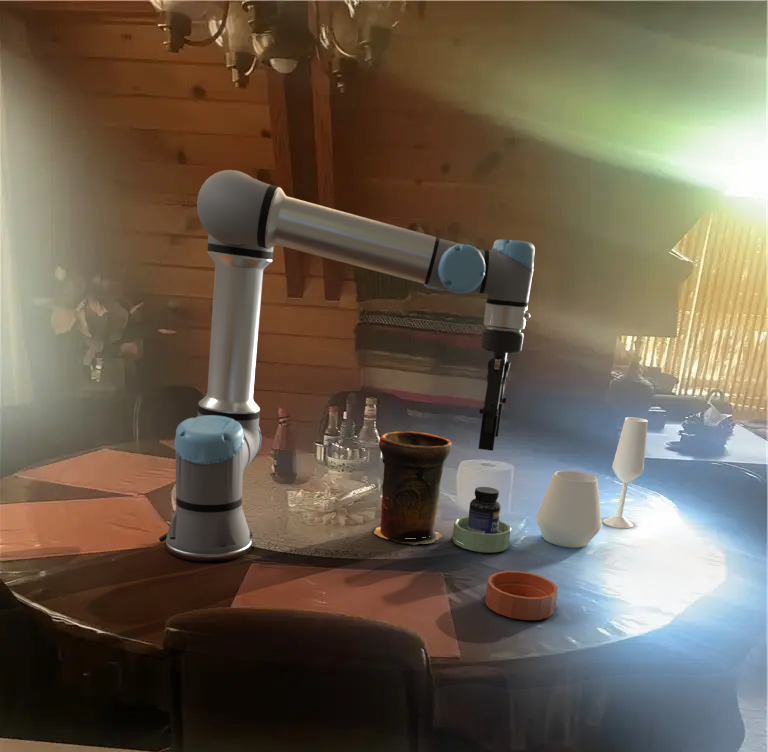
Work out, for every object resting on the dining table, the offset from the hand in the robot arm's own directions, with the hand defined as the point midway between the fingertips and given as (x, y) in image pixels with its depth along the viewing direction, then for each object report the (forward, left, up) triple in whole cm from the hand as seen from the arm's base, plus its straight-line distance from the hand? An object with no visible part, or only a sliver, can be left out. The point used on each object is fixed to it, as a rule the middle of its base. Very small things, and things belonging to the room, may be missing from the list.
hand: (488, 442), depth 146 cm
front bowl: (+10, -27, -21) cm, 36 cm away
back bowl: (+1, +1, -21) cm, 21 cm away
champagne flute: (+30, +28, -21) cm, 46 cm away
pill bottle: (+1, +1, -21) cm, 21 cm away
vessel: (-14, +1, -21) cm, 25 cm away
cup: (+18, +11, -21) cm, 30 cm away
